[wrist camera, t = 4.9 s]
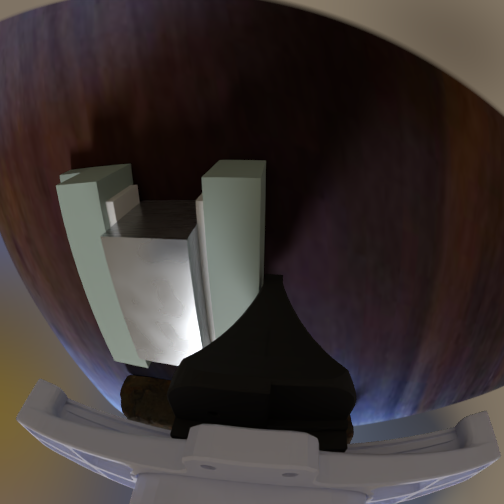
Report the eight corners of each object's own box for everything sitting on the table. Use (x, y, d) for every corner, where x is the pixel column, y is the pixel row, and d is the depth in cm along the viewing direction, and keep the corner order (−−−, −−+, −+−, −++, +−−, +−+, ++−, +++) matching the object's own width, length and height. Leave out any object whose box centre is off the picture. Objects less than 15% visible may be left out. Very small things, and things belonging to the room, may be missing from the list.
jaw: (265, 160, 12) (260, 178, 9) (261, 344, 17) (256, 383, 15) (210, 160, 12) (190, 177, 10) (223, 341, 18) (213, 378, 15)
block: (212, 200, 13) (186, 240, 10) (220, 316, 17) (206, 369, 13) (142, 200, 13) (100, 236, 10) (163, 310, 17) (139, 358, 13)
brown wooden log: (355, 404, 21) (360, 451, 17) (334, 424, 23) (336, 467, 19) (128, 352, 20) (104, 398, 16) (131, 378, 22) (112, 420, 18)
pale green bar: (137, 163, 12) (104, 181, 10) (169, 334, 18) (154, 369, 15) (70, 169, 13) (34, 188, 10) (113, 325, 18) (94, 355, 16)
